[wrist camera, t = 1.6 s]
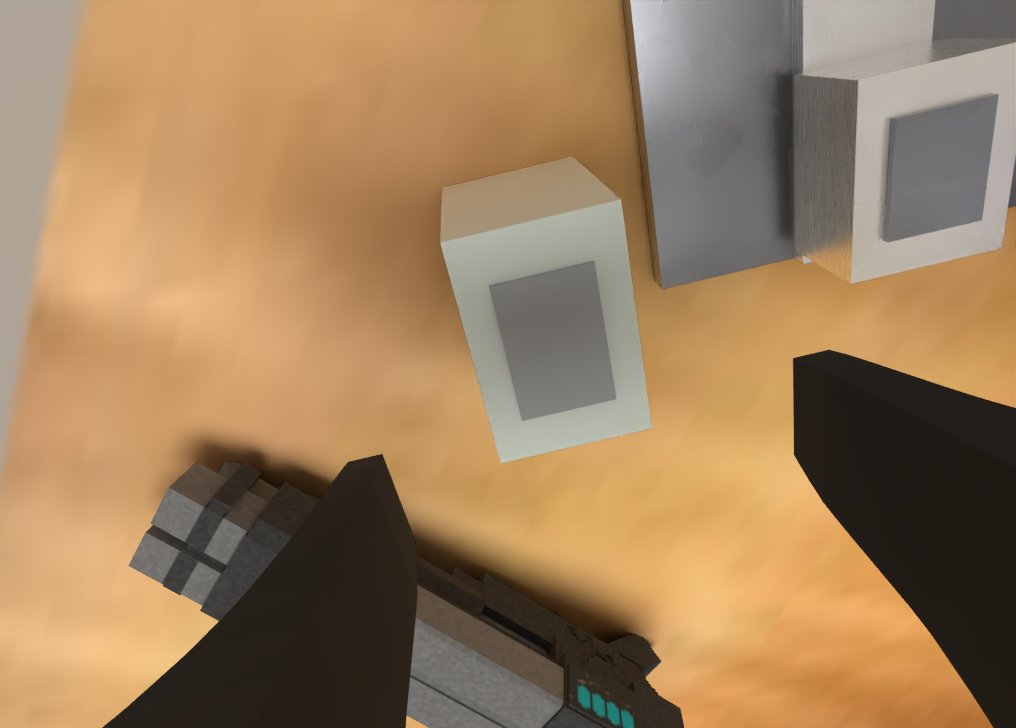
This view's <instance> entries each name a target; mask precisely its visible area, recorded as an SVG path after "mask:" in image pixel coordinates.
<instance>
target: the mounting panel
mask: <svg viewBox="0 0 1016 728" xmlns="http://www.w3.org/2000/svg"><path fill="white" fill-rule="evenodd" d="M622 2H623V10H624V19H625V28H626V36H627V45H628V54H629V62H630V71H631V80H632V88H633V97H634V105H635V114H636V123H637V131H638V140H639V149H640V157H641V166H642V175H643V183H644V192H645V200H646V209H647V218H648V226H649V235H650V244H651V252H652V261H653V270H654V278H655V282H656V283H657V284H658V285H659V286H660V287H661V288H662V289H665V288H669V287H673V286H678V285H682V284H686V283H690V282H695V281H699V280H703V279H707V278H712V277H716V276H720V275H724V274H729V273H733V272H737V271H741V270H746V269H750V268H754V267H758V266H763V265H767V264H771V263H775V262H779V261H784V260H788V259H792V258H794V259H796V260H797V261H799V262H801V263H802V264H805V263H810V262H815V263H817V264H818V265H820V266H822V267H823V268H825V269H827V270H828V271H830V272H832V273H834V274H835V275H837V276H839V277H840V278H842V279H844V280H845V281H847V282H849V283H850V284H852V283H856V282H861V281H865V280H869V279H873V278H878V277H882V276H886V275H890V274H895V273H899V272H903V271H907V270H912V269H916V268H920V267H924V266H929V265H933V264H937V263H941V262H946V261H950V260H954V259H959V258H963V257H967V256H971V255H976V254H980V253H984V252H988V251H993V250H997V249H1001V248H1002V243H1003V236H1004V230H1005V223H1006V216H1007V210H1008V207H1013V206H1016V0H622Z"/></svg>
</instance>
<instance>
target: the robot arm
mask: <svg viewBox="0 0 1016 728" xmlns="http://www.w3.org/2000/svg"><path fill="white" fill-rule="evenodd" d="M793 391H794V456H795V457H796V459H797V461H798V462H799V464H800V466H801V467H802V469H803V471H804V472H805V474H806V476H807V477H808V479H809V481H810V482H811V484H812V486H813V487H814V489H815V490H816V492H817V493H818V495H819V496H820V498H821V500H822V501H823V503H824V504H825V505H826V506H827V508H828V509H829V510H830V511H831V513H832V514H833V515H834V516H835V518H836V519H837V520H838V521H839V522H840V524H841V525H842V526H843V527H844V528H845V530H846V531H847V532H848V533H849V535H850V536H851V537H852V538H853V539H854V541H855V542H856V543H857V544H858V545H859V547H860V548H861V549H862V550H863V551H864V553H865V554H866V555H867V556H868V557H869V559H870V560H871V561H872V562H873V563H874V564H875V566H876V567H877V568H878V569H879V570H880V572H881V573H882V574H883V575H884V576H885V578H886V579H887V580H888V581H889V582H890V584H891V585H892V586H893V587H894V588H895V590H896V591H897V592H898V593H899V594H900V596H901V597H902V598H903V599H904V600H905V602H906V603H907V604H908V605H909V606H910V607H911V609H912V610H913V611H914V613H915V614H916V615H917V616H918V618H919V619H920V620H921V622H922V623H923V624H924V626H925V627H926V628H927V629H928V631H929V632H930V633H931V635H932V636H933V637H934V639H935V640H936V642H937V643H938V645H939V646H940V648H941V649H942V651H943V652H944V654H945V655H946V657H947V658H948V659H949V661H950V662H951V664H952V665H953V667H954V668H955V670H956V671H957V673H958V674H959V676H960V677H961V679H962V680H963V682H964V683H965V684H966V686H967V687H968V689H969V690H970V692H971V693H972V695H973V696H974V698H975V699H976V701H977V703H978V704H979V706H980V707H981V709H982V710H983V712H984V713H985V715H986V716H987V718H988V720H989V721H990V723H991V724H992V726H993V727H994V728H1016V408H1013V407H1010V406H1006V405H1003V404H999V403H996V402H992V401H989V400H986V399H982V398H979V397H976V396H972V395H969V394H966V393H963V392H960V391H957V390H953V389H950V388H947V387H944V386H941V385H938V384H935V383H932V382H929V381H926V380H923V379H920V378H917V377H914V376H911V375H908V374H905V373H902V372H899V371H896V370H893V369H890V368H887V367H884V366H881V365H878V364H875V363H872V362H869V361H866V360H863V359H860V358H857V357H853V356H850V355H847V354H843V353H839V352H835V351H831V350H826V351H822V352H818V353H814V354H809V355H805V356H801V357H796V358H793ZM417 596H418V591H417V560H416V542H415V539H414V536H413V534H412V531H411V528H410V526H409V523H408V521H407V518H406V515H405V513H404V510H403V507H402V505H401V502H400V500H399V497H398V494H397V492H396V489H395V486H394V484H393V481H392V478H391V476H390V473H389V471H388V468H387V465H386V463H385V460H384V457H383V455H382V454H380V455H376V456H372V457H368V458H363V459H359V460H355V461H350V462H348V463H347V464H346V465H345V467H344V468H343V469H342V470H341V472H340V473H339V474H338V476H337V477H336V478H335V480H334V481H333V482H332V484H331V485H330V486H329V488H328V489H327V490H326V492H325V493H324V495H323V496H322V497H321V499H320V500H319V501H318V503H317V504H316V505H315V507H314V508H313V509H312V511H311V512H310V513H309V515H308V516H307V517H306V519H305V520H304V521H303V523H302V524H301V525H300V527H299V528H298V529H297V531H296V532H295V533H294V535H293V536H292V537H291V539H290V540H289V541H288V542H287V544H286V545H285V546H284V547H283V549H282V550H281V551H280V552H279V553H278V555H277V556H276V557H275V558H274V559H273V561H272V562H271V563H270V564H269V565H268V567H267V568H266V569H265V570H264V571H263V573H262V574H261V575H260V576H259V577H258V579H257V580H256V581H255V582H254V583H253V585H252V586H251V587H250V588H249V589H248V591H247V592H246V593H245V594H244V595H243V596H242V597H241V598H240V599H239V601H238V602H237V603H236V604H235V605H234V606H233V607H232V608H231V609H230V610H229V611H228V612H227V614H226V615H225V616H224V617H223V618H222V619H221V620H220V621H219V622H218V623H217V624H216V625H215V626H214V627H213V628H212V629H211V630H210V631H209V632H208V633H207V634H206V635H205V636H204V637H203V638H202V639H201V640H200V641H199V642H198V643H197V644H196V645H195V646H194V647H193V648H192V649H191V650H190V651H189V652H188V653H187V654H186V655H185V656H184V657H183V658H181V659H180V660H179V661H178V662H177V663H176V664H175V665H174V666H173V667H171V668H170V669H169V670H168V671H167V672H166V673H165V674H164V675H162V676H161V677H160V678H159V679H158V680H157V681H156V682H155V683H154V684H152V685H151V686H150V687H149V688H148V689H147V690H146V691H145V692H144V693H142V694H141V695H140V696H139V697H138V698H137V699H136V700H135V701H134V702H132V703H131V704H130V705H129V706H128V707H127V708H126V709H124V710H123V711H122V712H121V713H120V714H118V715H117V716H116V717H115V718H114V719H112V720H111V721H110V722H109V723H107V724H106V725H105V726H104V727H103V728H406V715H407V705H408V694H409V684H410V673H411V663H412V653H413V642H414V631H415V620H416V609H417Z"/></svg>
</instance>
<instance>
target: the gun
mask: <svg viewBox="0 0 1016 728" xmlns="http://www.w3.org/2000/svg"><path fill="white" fill-rule="evenodd" d="M260 473H261V472H260V471H258V470H257V469H255V468H253V467H251V466H250V465H248V464H246V463H244V464H243V465H241V464H239V463H236V462H224V464H223V466H222V468H221V469H220V471H219V473H216V472H214V471H212V470H211V469H209V468H207V467H205V466H204V465H202V464H200V463H198V462H196V463H195V464H194V465H193V466H192V467H191V468H190V469H189V470H187V471H186V472H185V473H184V474H183V475H182V476H181V477H180V478H179V479H178V480H177V481H176V482H175V483H173V484H172V485H171V486H170V487H169V489H168V491H167V493H166V494H165V496H164V498H163V500H162V502H161V504H160V506H159V508H158V510H157V512H156V514H155V516H154V518H153V519H152V521H151V524H153V526H152V527H151V528H150V529H149V530H148V531H147V532H146V533H145V535H144V537H143V539H142V541H141V543H140V545H139V546H138V548H137V550H136V552H135V554H134V556H133V558H132V560H131V562H130V564H129V566H130V567H132V568H134V569H136V570H137V571H139V572H141V573H143V574H145V575H147V576H149V577H150V578H152V579H154V580H156V581H158V582H160V583H162V584H163V586H164V587H166V588H168V589H169V590H171V591H173V592H175V593H177V594H179V595H181V594H182V595H184V596H186V597H188V598H189V599H191V600H193V601H195V602H197V603H199V604H201V605H202V606H203V607H202V608H201V610H200V611H202V612H203V613H205V614H207V615H209V616H211V617H213V618H215V619H216V620H218V621H220V620H221V619H222V618H223V617H224V616H225V615H226V614H227V612H228V611H229V610H230V609H231V608H232V607H233V606H234V605H235V604H236V603H237V602H238V601H239V599H240V598H241V597H242V596H243V595H244V594H245V593H246V592H247V591H248V589H249V588H250V587H251V586H252V585H253V583H254V582H255V581H256V580H257V579H258V577H259V576H260V575H261V574H262V573H263V571H264V570H265V569H266V568H267V567H268V565H269V564H270V563H271V562H272V561H273V559H274V558H275V557H276V556H277V555H278V553H279V552H280V551H281V550H282V549H283V547H284V546H285V545H286V544H287V542H288V541H289V540H290V539H291V537H292V536H293V535H294V533H295V532H296V531H297V529H298V528H299V527H300V525H301V524H302V523H303V521H304V520H305V519H306V517H307V516H308V515H309V513H310V512H311V511H312V509H313V508H314V507H315V505H316V504H317V503H318V501H319V500H320V499H321V496H320V497H316V496H312V495H309V494H305V493H304V492H302V491H300V490H299V489H297V488H295V487H293V486H292V485H290V484H288V483H286V482H284V483H283V485H282V486H281V487H280V489H277V488H275V487H274V486H272V485H270V484H268V483H267V482H265V481H263V480H262V479H260ZM416 560H417V591H418V596H417V609H416V620H415V631H414V642H413V653H412V663H411V673H410V684H409V694H408V705H407V716H409V717H410V718H412V719H414V720H416V721H418V722H420V723H422V724H423V725H425V726H427V727H429V728H684V724H683V720H682V715H681V710H680V708H679V707H677V706H676V705H674V704H672V703H670V702H669V701H667V700H665V699H664V698H662V697H661V696H659V695H658V693H657V692H656V691H655V689H654V688H652V687H651V685H650V684H649V683H648V681H647V680H646V678H645V677H646V676H647V675H648V674H649V673H650V672H651V671H652V670H653V669H654V668H655V667H656V666H657V665H658V664H659V663H660V662H661V660H660V659H659V657H658V656H657V655H656V654H655V653H654V651H653V650H652V648H651V647H650V645H649V644H648V643H647V642H646V641H645V639H644V638H643V637H640V636H638V635H635V634H633V633H632V634H630V635H627V636H625V637H622V638H620V639H618V640H617V639H616V640H614V641H611V642H609V643H607V644H606V643H604V642H602V641H601V640H599V639H597V638H596V637H594V636H592V635H590V634H589V633H587V632H585V631H584V630H582V629H580V628H578V627H577V626H575V625H573V624H572V623H570V622H568V621H567V620H565V618H563V617H562V616H560V615H558V614H557V613H553V612H551V611H549V610H548V609H546V608H544V607H543V606H541V605H539V604H537V603H536V602H534V601H532V600H531V599H529V598H527V597H525V596H524V595H522V594H520V593H519V592H517V591H515V590H513V589H512V588H510V587H508V586H507V585H505V584H503V583H501V582H500V581H498V580H496V579H495V578H493V577H491V576H489V575H488V574H486V573H484V574H483V575H482V576H481V578H480V579H479V580H476V579H474V578H473V577H471V576H469V575H468V574H466V573H464V572H462V571H461V570H459V569H457V568H456V567H455V568H454V570H453V571H452V572H451V574H449V573H447V572H445V571H443V570H442V569H440V568H438V567H436V566H435V565H433V564H431V563H430V562H428V561H426V560H424V559H423V558H421V557H419V556H417V555H416Z"/></svg>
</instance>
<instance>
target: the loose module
mask: <svg viewBox="0 0 1016 728" xmlns="http://www.w3.org/2000/svg"><path fill="white" fill-rule="evenodd" d="M440 244H441V248H442V251H443V255H444V259H445V262H446V266H447V270H448V273H449V277H450V281H451V284H452V288H453V292H454V295H455V299H456V302H457V306H458V310H459V313H460V317H461V321H462V324H463V328H464V332H465V335H466V339H467V342H468V346H469V350H470V353H471V357H472V361H473V364H474V368H475V372H476V375H477V379H478V383H479V386H480V390H481V393H482V397H483V401H484V404H485V408H486V412H487V415H488V419H489V423H490V426H491V430H492V433H493V437H494V441H495V444H496V448H497V452H498V455H499V459H500V463H504V462H509V461H513V460H517V459H522V458H526V457H530V456H535V455H539V454H543V453H548V452H552V451H556V450H561V449H565V448H569V447H574V446H578V445H582V444H587V443H591V442H595V441H600V440H604V439H608V438H613V437H617V436H621V435H626V434H630V433H634V432H639V431H643V430H647V429H652V426H651V418H650V411H649V403H648V396H647V389H646V381H645V374H644V366H643V359H642V351H641V344H640V336H639V329H638V321H637V314H636V307H635V299H634V292H633V284H632V277H631V269H630V262H629V254H628V247H627V239H626V232H625V224H624V217H623V210H622V202H621V199H620V198H619V197H618V196H617V195H616V194H614V193H613V192H612V191H611V190H610V189H609V188H608V187H607V186H605V185H604V184H603V183H602V182H601V181H600V180H599V179H598V178H596V177H595V176H594V175H593V174H592V173H591V172H590V171H589V170H587V169H586V168H585V167H584V166H583V165H582V164H581V163H580V162H578V161H577V160H576V159H575V158H574V157H573V156H572V157H567V158H563V159H559V160H555V161H551V162H547V163H542V164H538V165H534V166H530V167H526V168H522V169H518V170H513V171H509V172H505V173H501V174H497V175H493V176H489V177H484V178H480V179H476V180H472V181H468V182H464V183H460V184H455V185H451V186H447V187H443V188H442V205H441V232H440Z"/></svg>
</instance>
